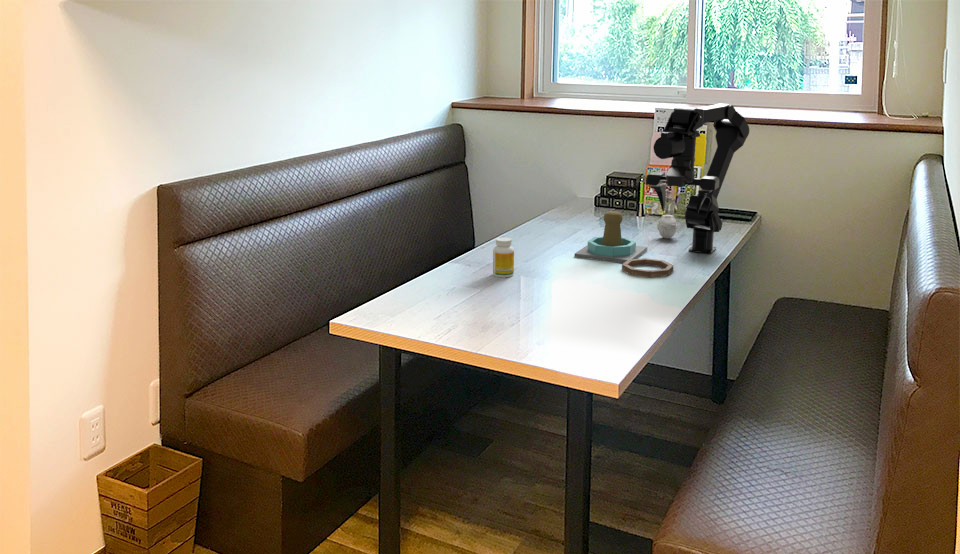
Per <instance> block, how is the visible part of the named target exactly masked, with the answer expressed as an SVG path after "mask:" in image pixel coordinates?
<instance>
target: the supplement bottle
mask: <svg viewBox="0 0 960 554" xmlns="http://www.w3.org/2000/svg"><path fill="white" fill-rule="evenodd" d="M512 241H513V240H512V238H510V237H498V238H495V246H494V247H493V250H492V275H493V276H494V277H496V278H500V277H502V279H506V278H505V277H507V278H511V277H513V276H514V272H515V271H514V270H515V267H514V266H515V265H514V264H515V248H514V247H513V246H511V245H512V243H513V242H512Z"/></svg>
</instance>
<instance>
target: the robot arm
mask: <svg viewBox="0 0 960 554" xmlns="http://www.w3.org/2000/svg"><path fill="white" fill-rule="evenodd" d="M710 122H711V123H712V122H713V124H712V126H713V128H714V130H715V141H716V145H717V147H716V149H715V152H714V155H713V157H712V160H711V163H710V165H709V168H708V170H707V173H706V175H704V176H702V177H701V178H696V177H695V162H696V144H697V143H696V140H697V138H699V137H701V134H700V132H699V131H698V130H699V129H701V128H702V127H703V126H704V124H705V123H710ZM749 134H750V126H749V124H748V122H747V120H746V118H745V117H744V116H743V115H742V114H740V113H739V112H738V111H736V109H735V107H734V105H733V104H729V103H715V104H712V105H707V106H702V107H701V106H700V107H686V106H675V108H674V109H673V111H672V112H671V114H670V116H669V118H668V119H667V122H666V124H665V127H664V128H663V131H662V132H661V133H660V137H658V138H657V139H656V140H655V141H654V144H653V153H654V154H655V156H656V157H657V158H658V159H660V160H666V159H671V165H670V167H669V168H668V171H667V172H666V173H665V172H661V171H660V172H658V171H651V172H650V173H648V174H647V175H646V177H645V186H649V187H650V189H654V191H655V193H656V195H657V197H658V200H659V204H660V208H661V210H662V212H665V211H666V201H667V199H666V197H667V196H666V195H667V186H668V187H678V188H684V187H685V186H686V185H687V186H699V188H700V189H699V190H698V191H697V193H698V194H695V195H694V194H691V196H690V198H689V201H688V204H687V205H686V208H685V211H684V219H685V224H686V226H685V227H686V229H692V230H693V231H692V243H691V244H692V246H690V247H689V248H688V252H693V253H694V252H696V253H703V254H712V253H714V251H715V250H717V247H715V246H714V237H715V236H714V234H715V233H719V232H720V231H722V228H723V223H724V222H723V221H722V219H721V217H720V215H719V211H720V208H719V204H718V198H719V197H718V196H719V193H720V192H721V188H722V185H723V184H724V180H725V177H726V175H727V173H728V170H729V168H730V164H731V162H732V160H733V157H734V154H735V152H737V151H738V150H739V149H741V148H742V147H743V146H744V144H745V142H746V140H747V139H748V137H749Z"/></svg>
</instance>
